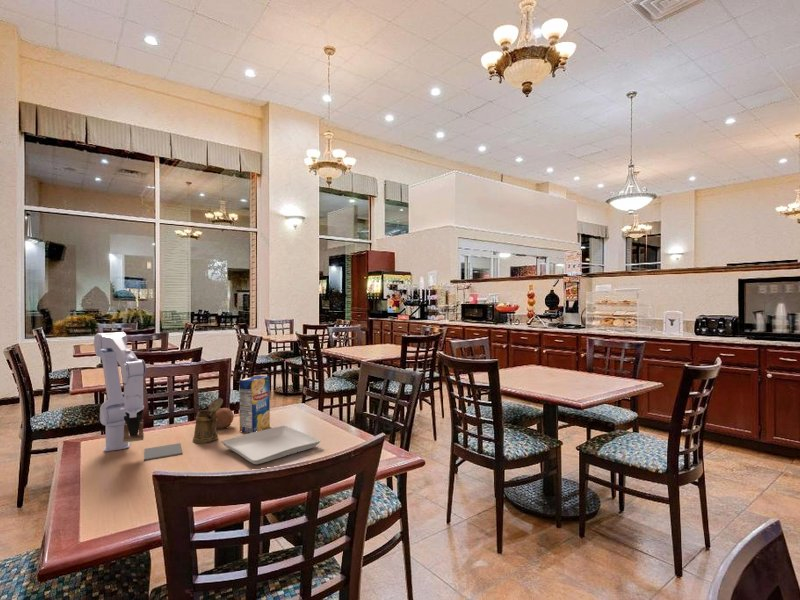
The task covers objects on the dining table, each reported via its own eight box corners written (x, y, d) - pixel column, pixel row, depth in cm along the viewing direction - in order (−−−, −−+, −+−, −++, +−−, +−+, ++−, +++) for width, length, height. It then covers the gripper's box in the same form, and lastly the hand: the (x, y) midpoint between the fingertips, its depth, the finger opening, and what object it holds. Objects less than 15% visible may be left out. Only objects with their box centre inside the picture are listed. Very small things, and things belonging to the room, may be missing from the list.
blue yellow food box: (239, 431, 182) (239, 379, 181) (257, 424, 192) (257, 375, 191) (252, 433, 179) (251, 381, 179) (269, 426, 189) (269, 376, 189)
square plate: (219, 450, 161) (219, 440, 161) (284, 433, 180) (284, 424, 180) (253, 470, 142) (253, 459, 142) (322, 449, 161) (322, 439, 161)
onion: (212, 436, 185) (201, 416, 184) (228, 424, 194) (217, 405, 193) (226, 431, 181) (214, 410, 180) (242, 419, 189) (231, 399, 188)
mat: (144, 450, 160) (144, 448, 160) (180, 444, 166) (180, 443, 166) (144, 460, 150) (144, 459, 150) (182, 454, 156) (182, 452, 156)
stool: (124, 438, 153) (124, 421, 153) (143, 436, 156) (143, 419, 156) (123, 442, 148) (123, 425, 148) (143, 440, 151) (143, 422, 151)
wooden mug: (209, 447, 163) (209, 399, 163) (188, 441, 170) (187, 395, 170) (229, 440, 171) (229, 395, 171) (208, 434, 178) (207, 391, 178)
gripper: (121, 392, 156) (122, 429, 156) (118, 400, 144) (119, 440, 144) (144, 390, 160) (144, 426, 160) (143, 398, 147) (143, 437, 147)
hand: (134, 433), depth 152 cm, fingers closed on stool, 6 cm apart
